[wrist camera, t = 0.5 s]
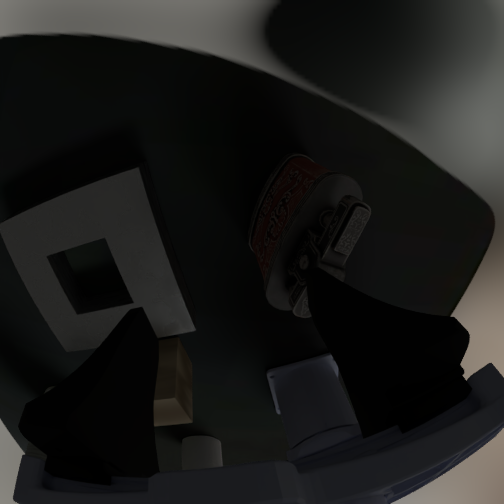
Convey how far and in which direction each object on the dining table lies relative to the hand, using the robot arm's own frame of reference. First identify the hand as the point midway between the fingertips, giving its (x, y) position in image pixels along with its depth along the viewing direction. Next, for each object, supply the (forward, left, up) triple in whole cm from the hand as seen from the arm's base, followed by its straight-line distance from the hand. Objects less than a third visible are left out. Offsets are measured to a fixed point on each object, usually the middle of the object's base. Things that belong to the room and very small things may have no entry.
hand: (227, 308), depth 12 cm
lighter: (0, -5, -10) cm, 11 cm away
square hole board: (-1, +10, -10) cm, 14 cm away
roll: (-32, +11, -10) cm, 35 cm away
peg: (-12, +8, -10) cm, 18 cm away
